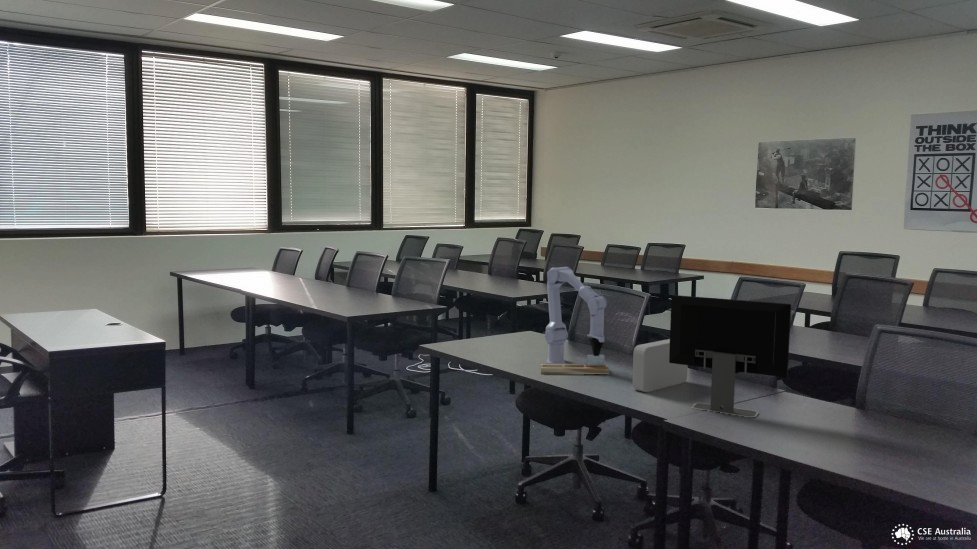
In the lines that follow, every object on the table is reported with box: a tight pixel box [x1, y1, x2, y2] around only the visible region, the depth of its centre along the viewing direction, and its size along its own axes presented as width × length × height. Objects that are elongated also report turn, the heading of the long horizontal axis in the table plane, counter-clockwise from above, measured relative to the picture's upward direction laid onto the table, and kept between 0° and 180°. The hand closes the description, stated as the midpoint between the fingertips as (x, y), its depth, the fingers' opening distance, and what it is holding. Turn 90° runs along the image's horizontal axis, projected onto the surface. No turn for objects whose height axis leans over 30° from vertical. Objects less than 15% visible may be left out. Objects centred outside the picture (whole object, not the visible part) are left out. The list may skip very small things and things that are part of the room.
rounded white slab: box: [632, 338, 689, 393], centre depth 295 cm, size 29×8×18 cm, turn 129°
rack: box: [539, 362, 610, 375], centre depth 318 cm, size 9×29×3 cm, turn 88°
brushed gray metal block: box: [586, 354, 606, 367], centre depth 318 cm, size 2×7×6 cm, turn 96°
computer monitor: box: [669, 294, 792, 418], centre depth 260 cm, size 41×8×40 cm, turn 59°
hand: (596, 355), depth 317 cm, fingers closed, pressing on brushed gray metal block
